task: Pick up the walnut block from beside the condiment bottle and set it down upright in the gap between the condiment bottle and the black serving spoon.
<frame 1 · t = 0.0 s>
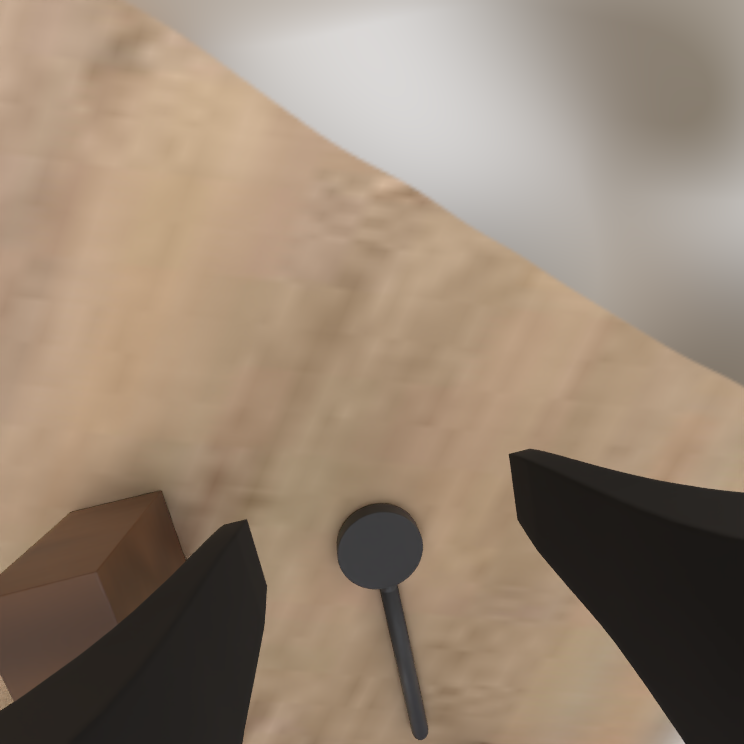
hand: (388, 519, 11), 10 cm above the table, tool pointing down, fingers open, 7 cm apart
serving spoon: (378, 541, 22), on the table
walnut block: (130, 539, 20), on the table
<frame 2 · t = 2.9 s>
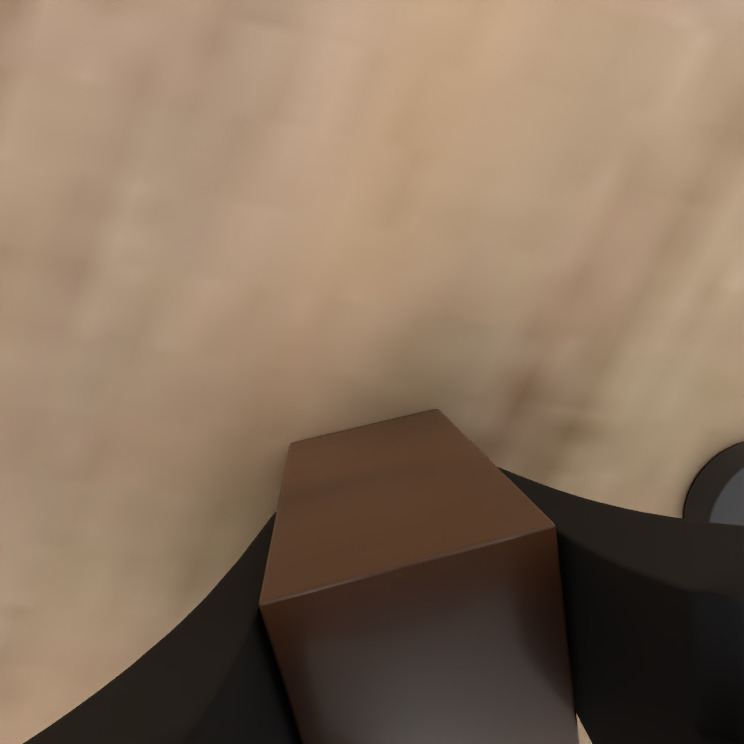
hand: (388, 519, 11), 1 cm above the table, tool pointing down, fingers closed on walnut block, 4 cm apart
serving spoon: (743, 502, 14), on the table
walnut block: (379, 493, 12), on the table, touching gripper
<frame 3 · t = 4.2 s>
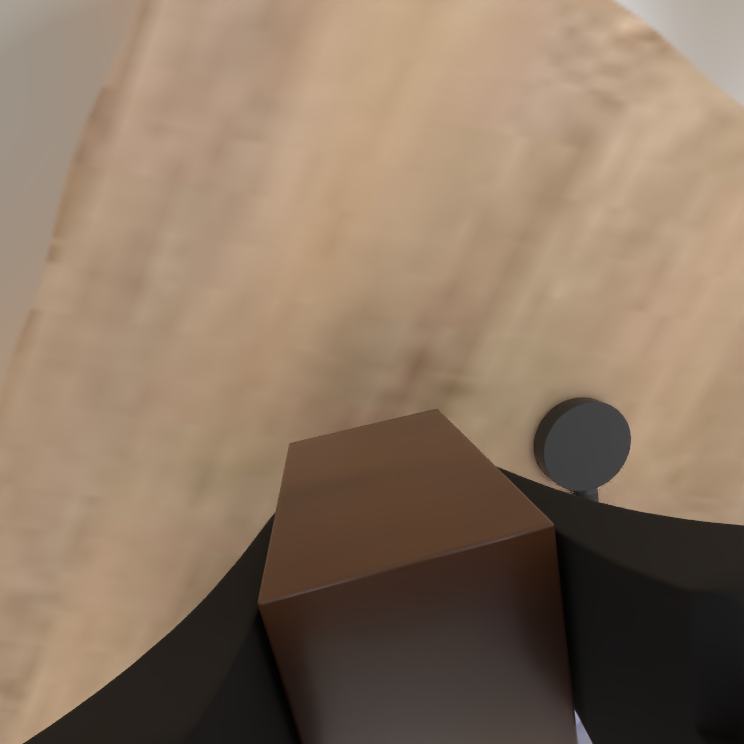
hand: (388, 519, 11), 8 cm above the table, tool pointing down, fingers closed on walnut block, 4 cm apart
serving spoon: (576, 441, 20), on the table
walnut block: (378, 493, 12), point 7 cm above the table, touching gripper
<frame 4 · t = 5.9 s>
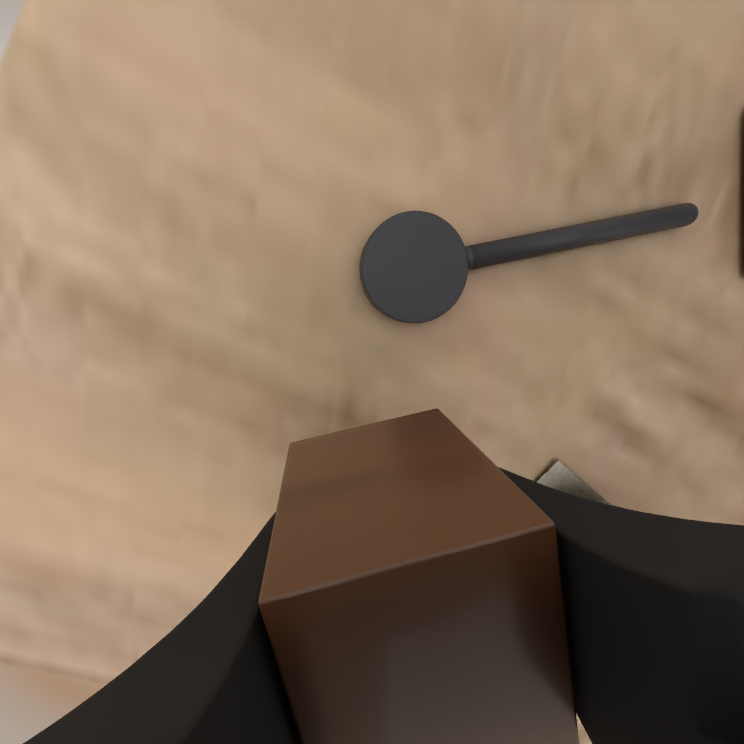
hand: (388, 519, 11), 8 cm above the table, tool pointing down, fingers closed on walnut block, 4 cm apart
serving spoon: (411, 269, 18), on the table
walnut block: (379, 492, 12), point 7 cm above the table, touching gripper
condiment: (558, 549, 22), on the table
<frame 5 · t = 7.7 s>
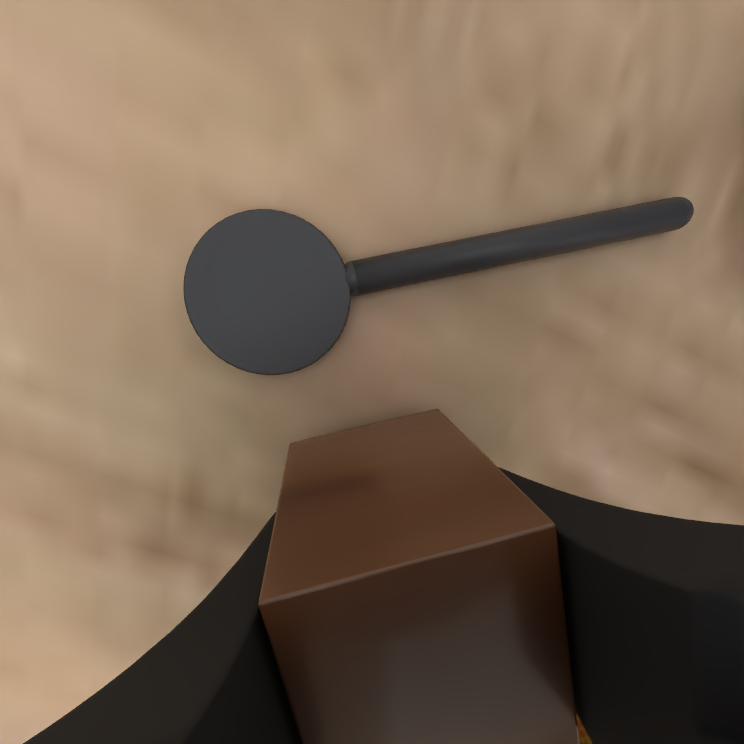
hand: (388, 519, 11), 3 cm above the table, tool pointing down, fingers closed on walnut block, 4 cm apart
serving spoon: (272, 295, 12), on the table
walnut block: (379, 493, 12), point 2 cm above the table, touching gripper
when the fingers open (1 cm above the table, at t = 8.8 s): walnut block stays where it is, on the table.
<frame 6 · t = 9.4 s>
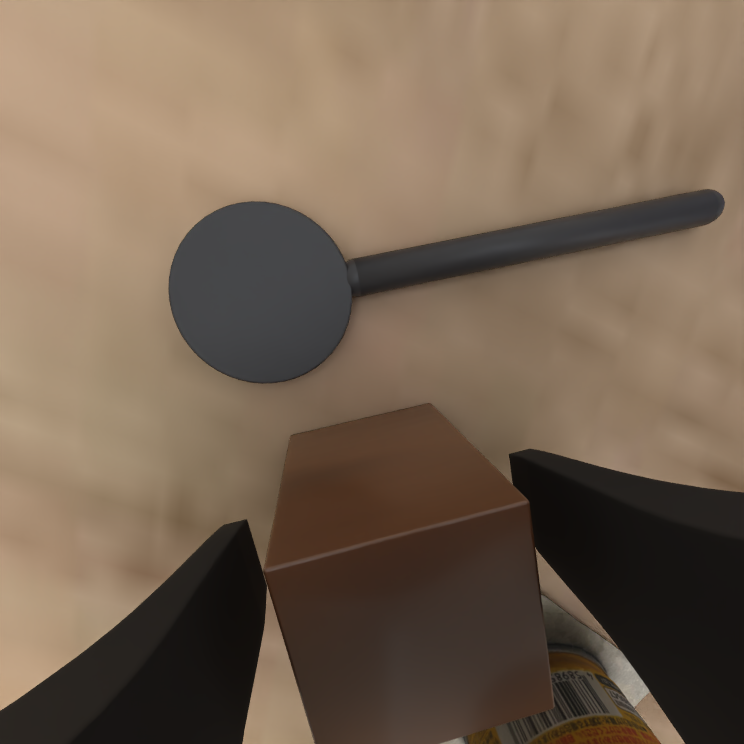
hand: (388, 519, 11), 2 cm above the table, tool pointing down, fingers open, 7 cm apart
serving spoon: (267, 296, 11), on the table
walnut block: (375, 483, 13), on the table
condiment: (519, 689, 15), on the table
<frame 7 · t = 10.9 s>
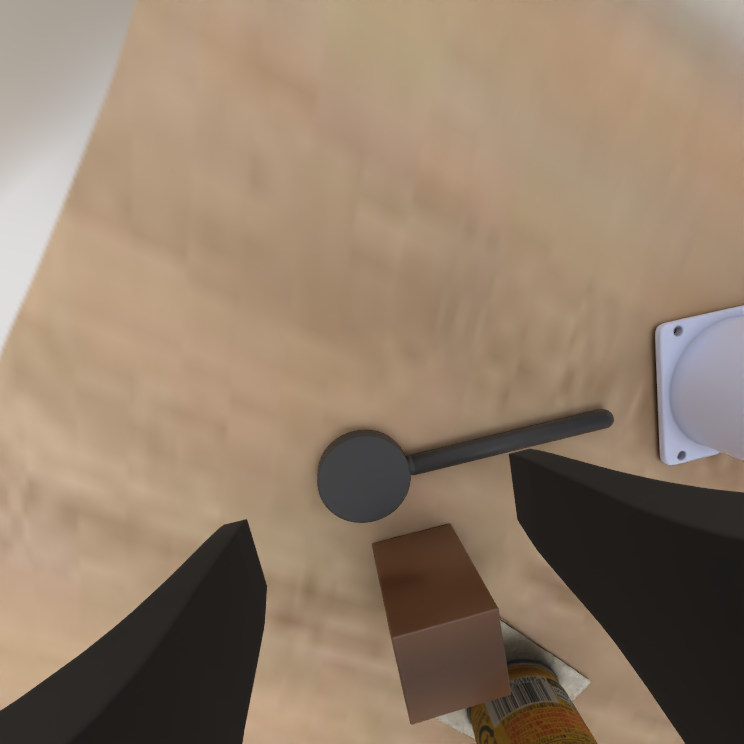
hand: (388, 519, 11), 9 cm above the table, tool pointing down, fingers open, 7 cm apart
serving spoon: (362, 472, 20), on the table
walnut block: (418, 568, 22), on the table
condiment: (502, 687, 25), on the table
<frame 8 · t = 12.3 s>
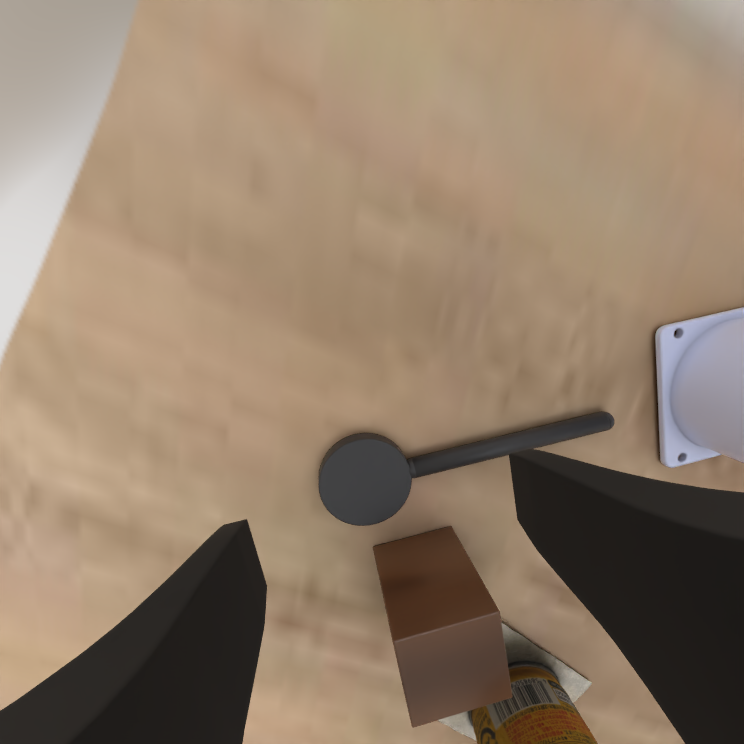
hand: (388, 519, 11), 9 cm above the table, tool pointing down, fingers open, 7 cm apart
serving spoon: (363, 475, 20), on the table
walnut block: (419, 570, 22), on the table
condiment: (503, 688, 25), on the table
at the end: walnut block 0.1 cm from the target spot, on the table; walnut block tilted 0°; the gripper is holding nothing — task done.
